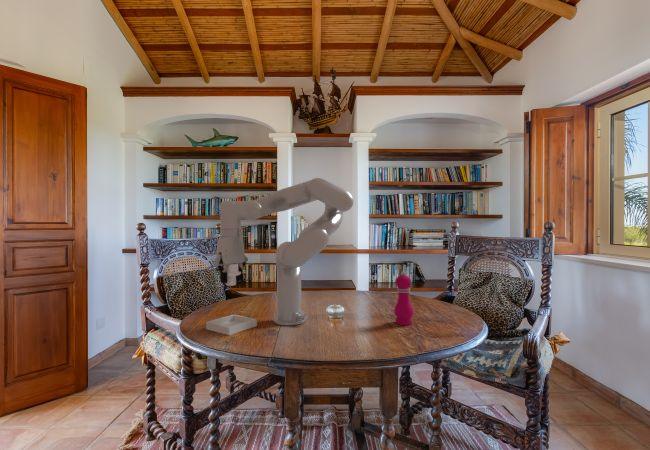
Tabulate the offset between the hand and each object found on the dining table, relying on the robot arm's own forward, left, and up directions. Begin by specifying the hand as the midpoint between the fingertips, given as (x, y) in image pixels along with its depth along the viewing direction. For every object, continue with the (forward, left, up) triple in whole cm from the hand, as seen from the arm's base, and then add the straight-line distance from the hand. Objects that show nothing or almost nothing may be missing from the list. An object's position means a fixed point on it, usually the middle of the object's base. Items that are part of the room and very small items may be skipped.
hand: (231, 281), depth 128 cm
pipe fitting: (0, 0, -2) cm, 2 cm away
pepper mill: (-52, -40, -18) cm, 68 cm away
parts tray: (0, 0, -17) cm, 17 cm away
